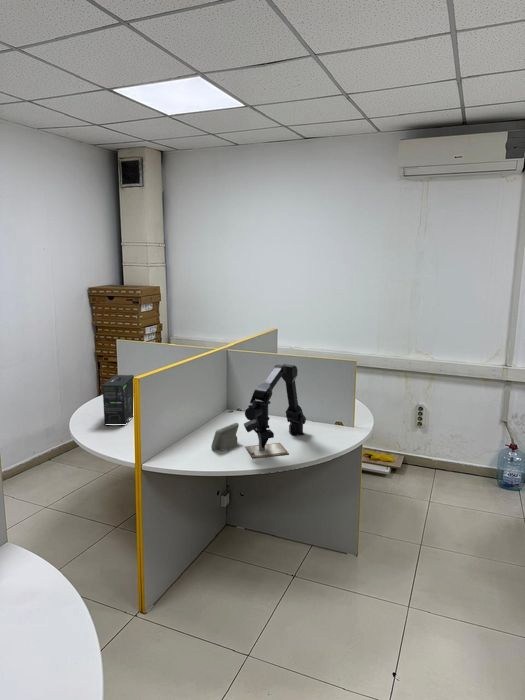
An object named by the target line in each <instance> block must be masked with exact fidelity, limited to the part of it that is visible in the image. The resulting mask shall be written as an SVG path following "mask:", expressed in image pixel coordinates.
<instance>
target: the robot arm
mask: <svg viewBox="0 0 525 700" xmlns="http://www.w3.org/2000/svg"><path fill="white" fill-rule="evenodd" d="M298 372H299V371H298V367H297V366H296V365H294V364H293V365H292V364H287V363H286V364H285V363H284V364H275V366H274V368H273V370H271V373H270V374H269V376H268V377H267V378H266V380H265V381H264V382H263V383H261V384H259V385H258V386H257V387H256V388H255V389H254V391H253V393H252V396H251V398H250V402H249V404H248V407H247V408H246V409H245V410H244V416H245V418H246V419H247V420H248V421H246V422H244V423H243V426H244V428H245V431H246V432H247V433H250V432H253V431H254V432H255V433H256V434H257V435H256V436H257V439H258V440H259V437H260V439H261V445H262V448H264V447H265V445H266V444H268V443H267V442H268V441H269V439H273V438H274V437H275V433H274V432H273V431H272V430H271V429H270V425H269V420H270V417H269V405H270V404H271V403H272V402H271V401H270V399H271V398H272V395H273V390H274V388H275V386H276V385H277V384H278V382H279V381H280V379H281V378H282V379H283V381H284V382H285V388H286V389H285V390H286V397H287V403H288V407H287V408H286V411H285V418H286V421H287V423H289V425H288V433H289V434H290V435H291V436H293V437H294V436H302V435H303V436H304V435H305V433H304V425H305V424H306V422H307V417H306V416H305V415H304V413H303V409H302V407H301V406H300V405H299V402H298V394H297V393H298V392H297V388H296V387H297V386H296V385H297V384H296V378H297V377H298ZM259 431H260V432H259Z"/></svg>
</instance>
